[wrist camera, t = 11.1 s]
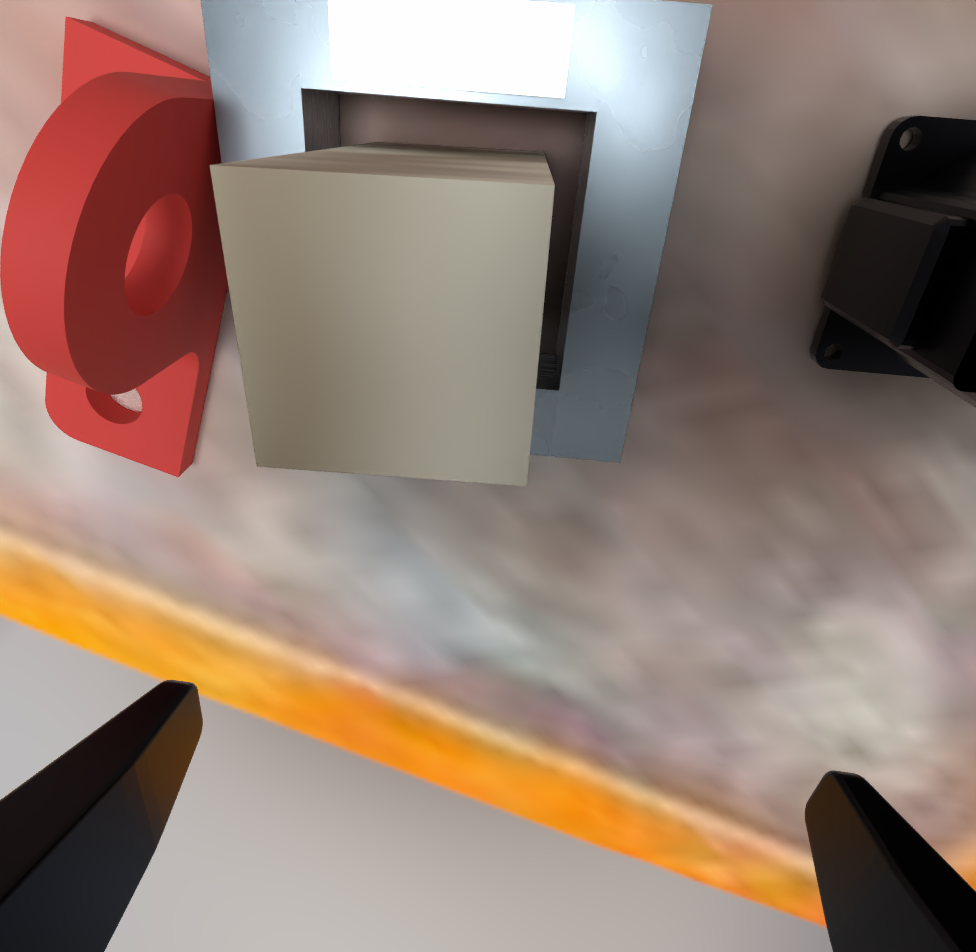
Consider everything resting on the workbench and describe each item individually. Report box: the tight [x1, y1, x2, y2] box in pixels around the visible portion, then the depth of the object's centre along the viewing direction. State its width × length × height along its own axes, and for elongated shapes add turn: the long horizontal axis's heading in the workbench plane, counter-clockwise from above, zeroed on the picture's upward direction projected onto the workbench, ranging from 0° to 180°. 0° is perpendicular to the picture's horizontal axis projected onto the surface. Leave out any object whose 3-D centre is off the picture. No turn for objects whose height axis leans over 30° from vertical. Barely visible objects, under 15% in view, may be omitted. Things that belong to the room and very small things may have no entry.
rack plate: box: [201, 0, 712, 462], centre depth 16 cm, size 10×10×3 cm
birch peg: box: [210, 142, 555, 486], centre depth 13 cm, size 4×4×10 cm
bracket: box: [0, 17, 228, 477], centre depth 16 cm, size 12×4×8 cm, turn 157°
